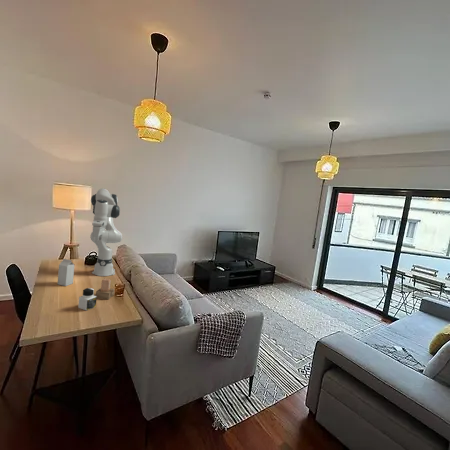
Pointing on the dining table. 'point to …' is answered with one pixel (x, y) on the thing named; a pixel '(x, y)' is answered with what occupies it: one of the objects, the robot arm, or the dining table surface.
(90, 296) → the medicine bottle
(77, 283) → the dining table surface
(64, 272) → the milk carton
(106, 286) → the pink block
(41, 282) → the dining table surface
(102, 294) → the tan square block
